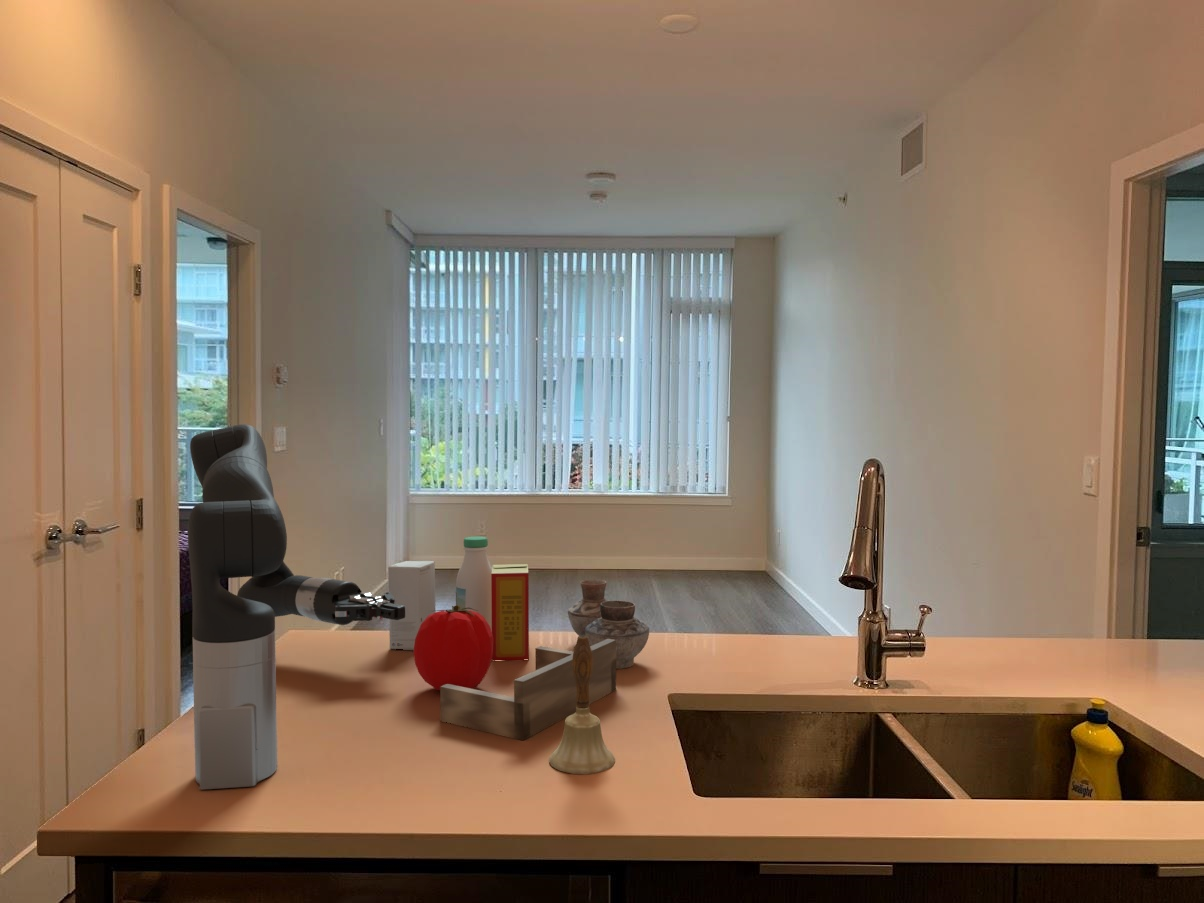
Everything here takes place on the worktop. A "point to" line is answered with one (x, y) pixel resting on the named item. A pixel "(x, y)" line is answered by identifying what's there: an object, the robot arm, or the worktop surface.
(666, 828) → the worktop surface
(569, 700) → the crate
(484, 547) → the milk bottle
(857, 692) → the worktop surface
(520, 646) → the baking soda box
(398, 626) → the skincare box
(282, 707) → the worktop surface
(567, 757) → the hand bell
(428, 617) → the tomato
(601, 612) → the pottery
